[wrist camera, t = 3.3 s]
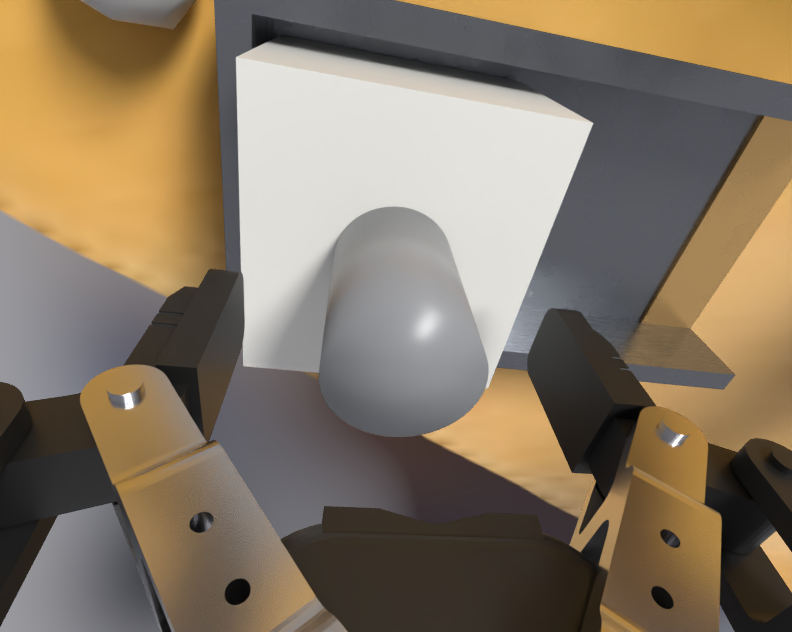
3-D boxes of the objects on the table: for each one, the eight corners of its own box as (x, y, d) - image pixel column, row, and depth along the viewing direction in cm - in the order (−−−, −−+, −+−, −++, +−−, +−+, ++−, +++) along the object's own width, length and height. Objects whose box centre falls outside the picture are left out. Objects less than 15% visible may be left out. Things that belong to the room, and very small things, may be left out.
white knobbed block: (281, 34, 16) (148, 99, 6) (519, 81, 18) (720, 195, 8) (275, 267, 22) (198, 501, 12) (457, 290, 23) (527, 516, 13)
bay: (251, -30, 16) (212, -39, 12) (823, 91, 20) (943, 116, 16) (253, 281, 23) (229, 341, 19) (669, 329, 27) (723, 389, 23)
